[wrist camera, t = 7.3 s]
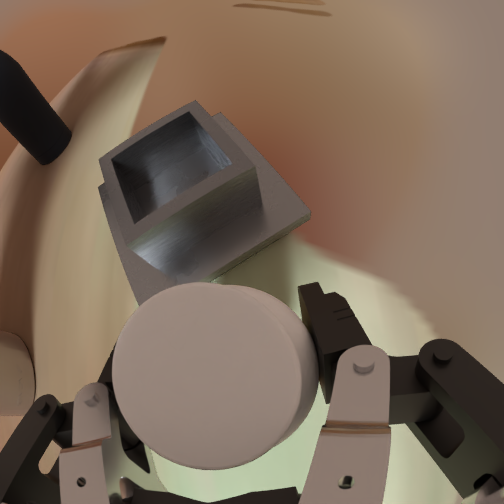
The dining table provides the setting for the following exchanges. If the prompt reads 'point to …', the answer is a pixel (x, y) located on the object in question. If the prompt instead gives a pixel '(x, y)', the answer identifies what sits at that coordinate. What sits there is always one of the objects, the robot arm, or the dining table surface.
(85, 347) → the dining table surface
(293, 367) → the supplement bottle
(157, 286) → the square socket
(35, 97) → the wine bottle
